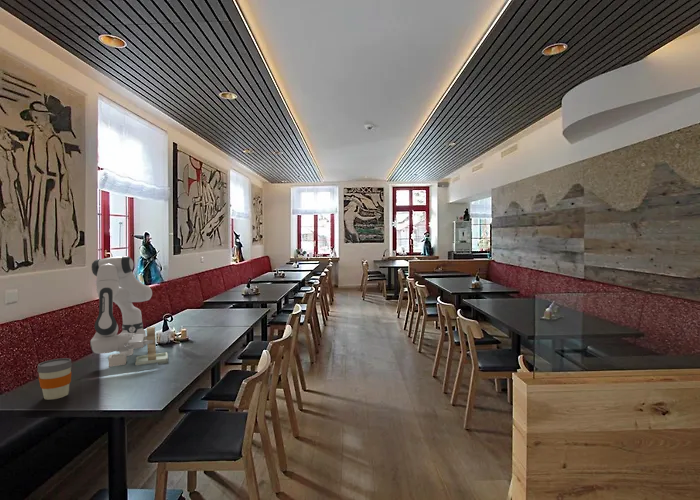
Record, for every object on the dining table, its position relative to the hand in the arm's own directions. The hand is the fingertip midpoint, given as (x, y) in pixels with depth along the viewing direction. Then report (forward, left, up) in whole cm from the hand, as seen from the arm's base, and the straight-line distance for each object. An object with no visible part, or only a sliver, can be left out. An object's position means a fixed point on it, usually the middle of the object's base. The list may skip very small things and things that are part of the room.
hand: (153, 339), depth 234 cm
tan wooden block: (0, -1, -11) cm, 11 cm away
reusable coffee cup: (+36, -39, -13) cm, 55 cm away
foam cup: (-20, -15, -13) cm, 28 cm away
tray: (0, -1, -12) cm, 13 cm away
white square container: (-2, -18, -12) cm, 22 cm away
